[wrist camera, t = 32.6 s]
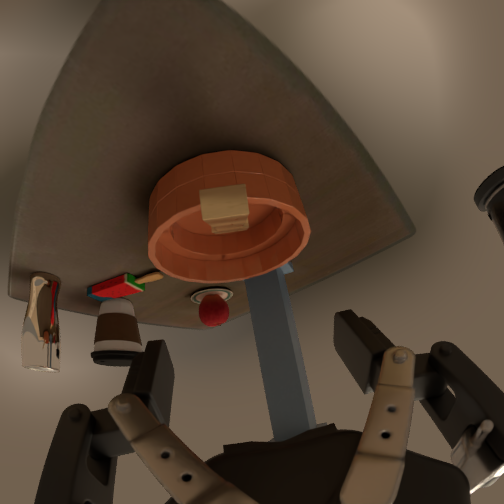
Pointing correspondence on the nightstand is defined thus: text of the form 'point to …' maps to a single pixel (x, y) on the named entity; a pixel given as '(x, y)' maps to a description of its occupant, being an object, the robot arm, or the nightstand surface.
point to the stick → (225, 208)
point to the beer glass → (42, 325)
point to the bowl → (234, 243)
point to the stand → (280, 355)
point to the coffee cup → (116, 334)
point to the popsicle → (121, 286)
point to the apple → (213, 305)
